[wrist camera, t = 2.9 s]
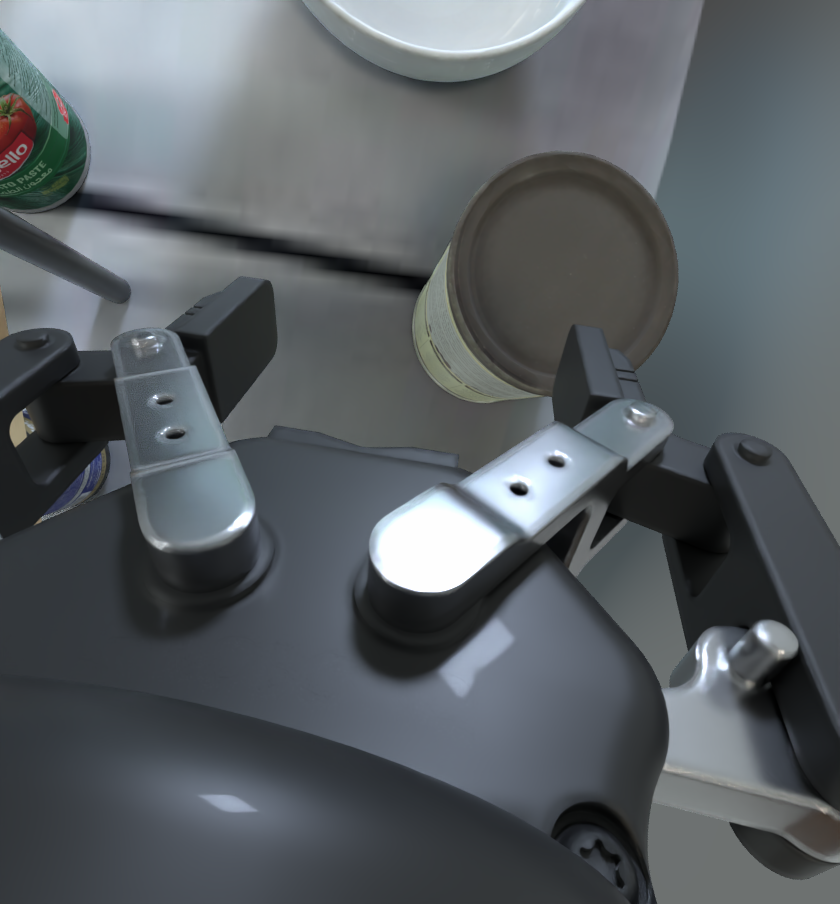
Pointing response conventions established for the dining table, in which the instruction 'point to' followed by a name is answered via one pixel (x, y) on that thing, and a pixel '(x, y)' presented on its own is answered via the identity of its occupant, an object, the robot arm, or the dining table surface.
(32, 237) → the shelf riser
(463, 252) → the coffee can
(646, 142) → the dining table surface
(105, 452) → the pill bottle
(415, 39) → the serving bowl
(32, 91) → the canned tomato
